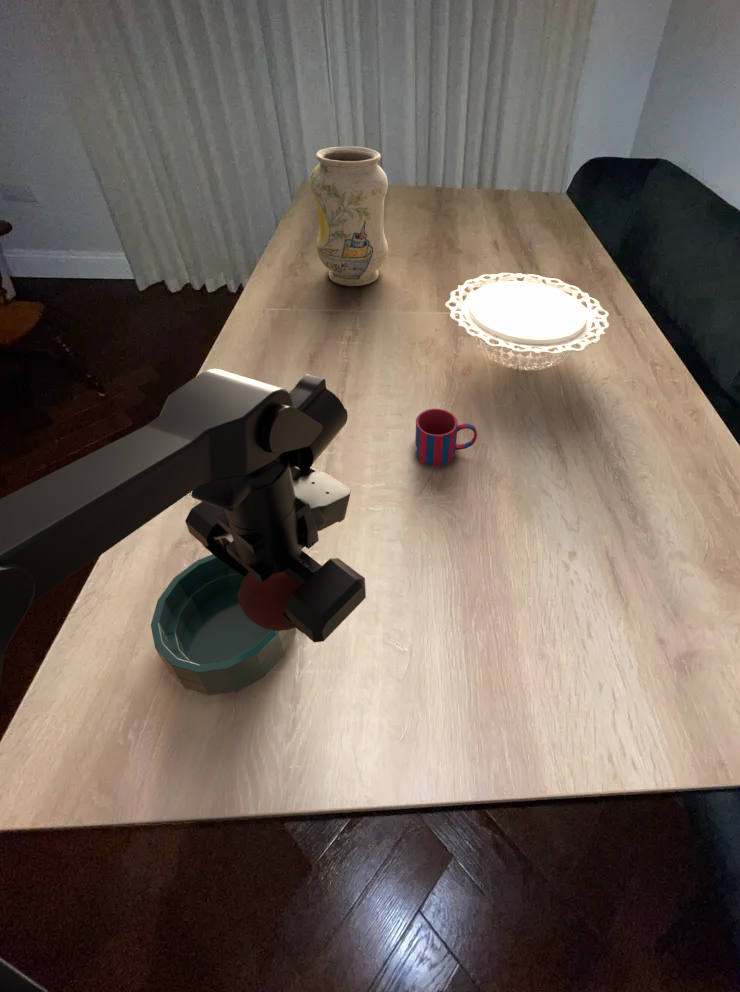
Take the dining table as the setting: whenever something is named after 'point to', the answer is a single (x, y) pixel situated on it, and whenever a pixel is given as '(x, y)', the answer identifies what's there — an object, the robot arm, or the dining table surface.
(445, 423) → the mug
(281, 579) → the potato
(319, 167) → the vase
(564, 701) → the dining table surface
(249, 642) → the bowl
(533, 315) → the white lattice bowl
